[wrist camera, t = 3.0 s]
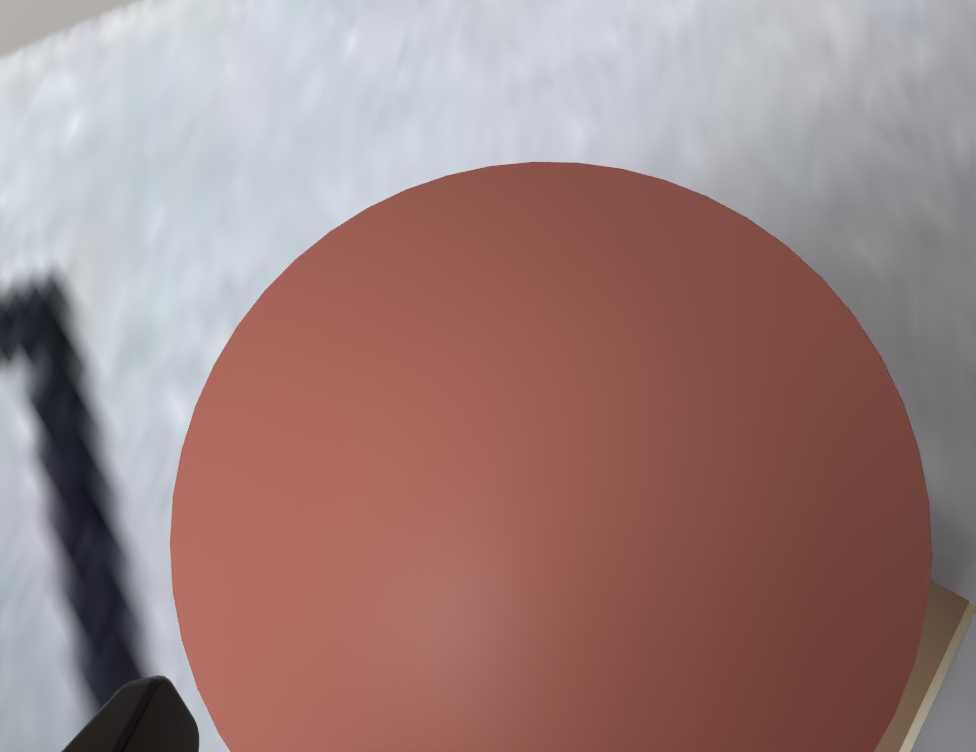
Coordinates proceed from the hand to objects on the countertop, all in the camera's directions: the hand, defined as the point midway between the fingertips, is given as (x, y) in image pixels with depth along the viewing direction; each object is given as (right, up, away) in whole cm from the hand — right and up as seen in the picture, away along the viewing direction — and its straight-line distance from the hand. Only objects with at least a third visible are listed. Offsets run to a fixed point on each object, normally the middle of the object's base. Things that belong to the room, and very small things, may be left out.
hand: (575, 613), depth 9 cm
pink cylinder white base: (+1, -2, +8) cm, 8 cm away
